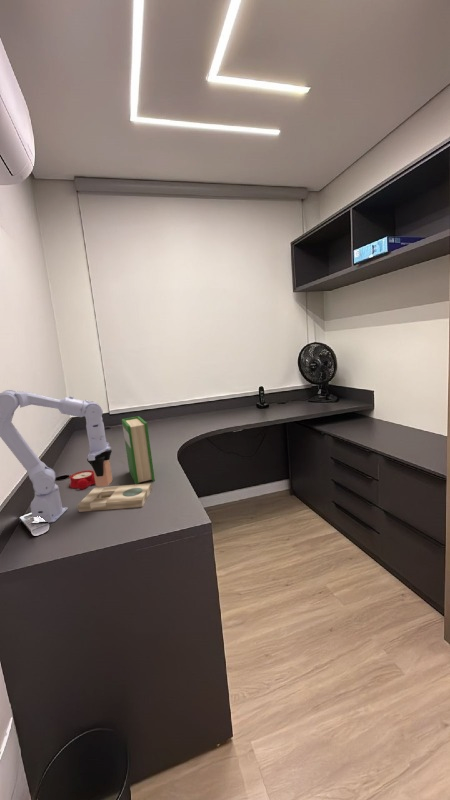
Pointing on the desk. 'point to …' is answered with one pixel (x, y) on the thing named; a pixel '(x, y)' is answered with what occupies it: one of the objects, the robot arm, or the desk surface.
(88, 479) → the alarm clock
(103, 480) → the peg
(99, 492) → the pocket board
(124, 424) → the hardback book
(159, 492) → the desk surface
